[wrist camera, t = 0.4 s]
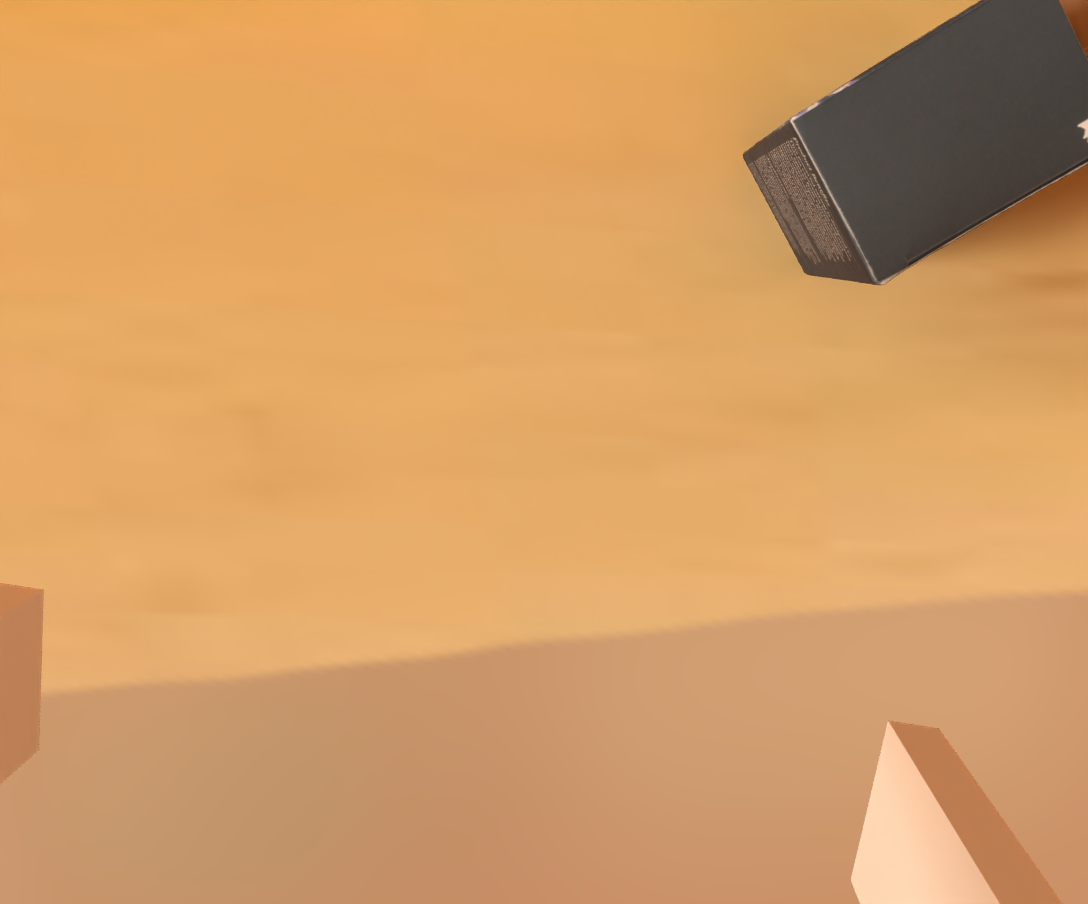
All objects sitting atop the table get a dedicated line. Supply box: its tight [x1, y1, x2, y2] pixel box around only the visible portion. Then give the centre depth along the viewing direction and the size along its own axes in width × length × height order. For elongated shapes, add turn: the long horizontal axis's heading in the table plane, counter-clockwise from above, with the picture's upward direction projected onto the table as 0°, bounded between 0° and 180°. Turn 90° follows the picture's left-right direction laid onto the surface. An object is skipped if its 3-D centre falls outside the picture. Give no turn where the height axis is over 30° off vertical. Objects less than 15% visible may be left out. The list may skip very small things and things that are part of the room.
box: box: [743, 0, 1088, 285], centre depth 32 cm, size 8×6×11 cm
